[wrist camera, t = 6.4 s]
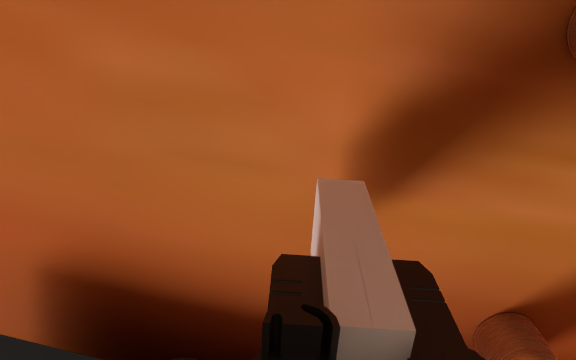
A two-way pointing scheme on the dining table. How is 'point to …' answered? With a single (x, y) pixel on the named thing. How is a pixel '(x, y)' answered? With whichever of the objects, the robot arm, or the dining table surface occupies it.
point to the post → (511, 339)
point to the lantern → (34, 351)
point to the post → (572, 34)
